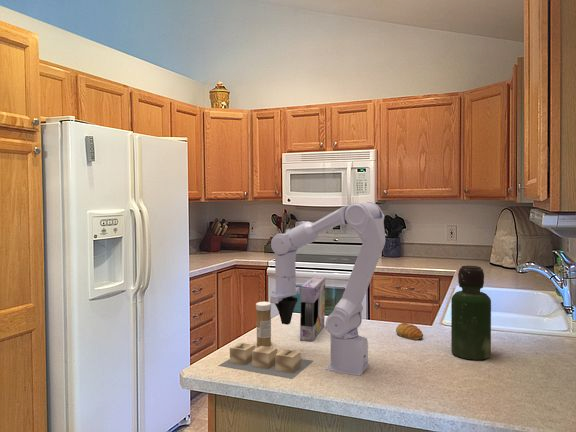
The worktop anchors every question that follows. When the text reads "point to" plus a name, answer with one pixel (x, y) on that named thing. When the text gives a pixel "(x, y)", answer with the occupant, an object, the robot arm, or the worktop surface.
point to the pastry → (409, 331)
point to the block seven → (241, 353)
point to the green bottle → (471, 316)
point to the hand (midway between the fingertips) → (286, 323)
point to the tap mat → (269, 371)
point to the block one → (288, 360)
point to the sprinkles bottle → (263, 324)
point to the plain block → (264, 357)
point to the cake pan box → (312, 308)
